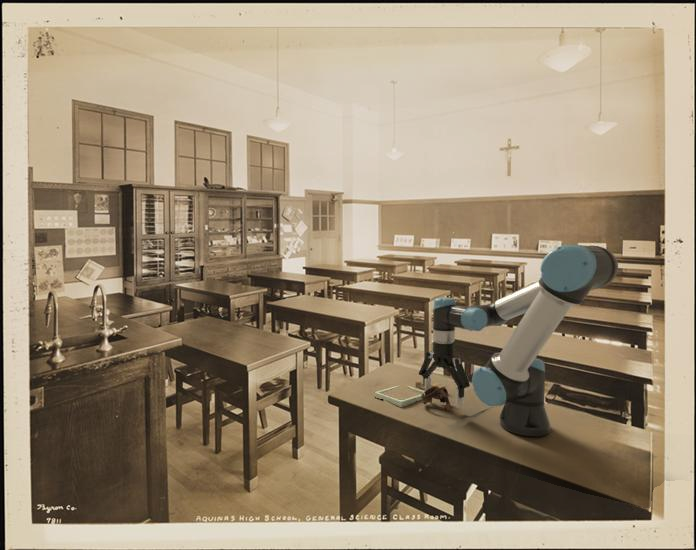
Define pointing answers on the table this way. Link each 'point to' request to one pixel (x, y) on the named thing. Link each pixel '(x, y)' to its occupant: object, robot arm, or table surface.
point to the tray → (395, 401)
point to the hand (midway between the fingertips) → (442, 400)
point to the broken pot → (436, 396)
